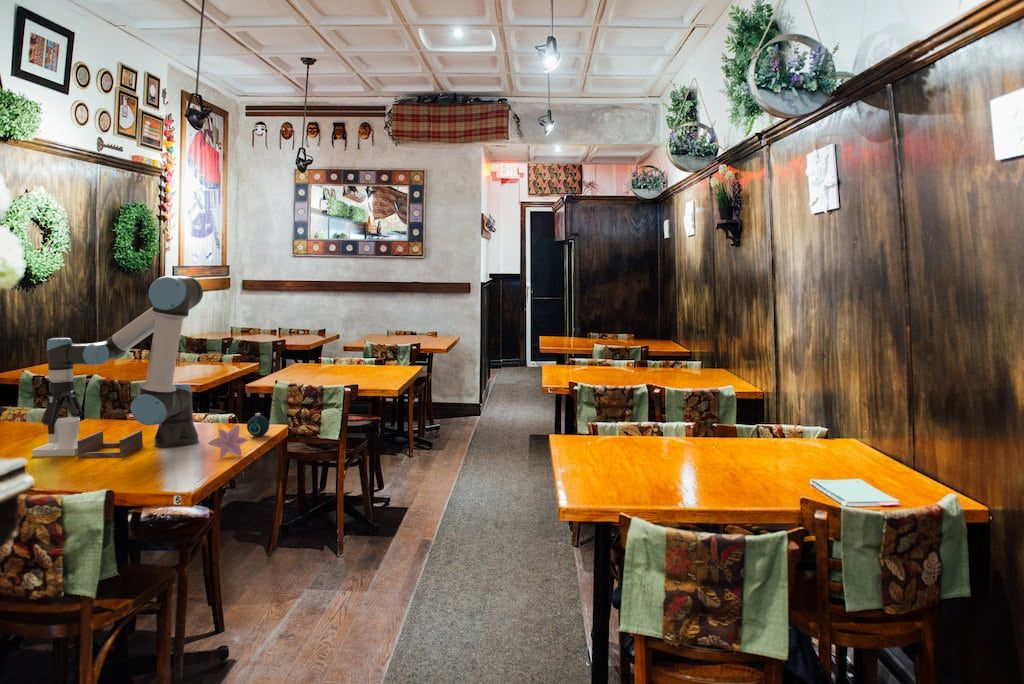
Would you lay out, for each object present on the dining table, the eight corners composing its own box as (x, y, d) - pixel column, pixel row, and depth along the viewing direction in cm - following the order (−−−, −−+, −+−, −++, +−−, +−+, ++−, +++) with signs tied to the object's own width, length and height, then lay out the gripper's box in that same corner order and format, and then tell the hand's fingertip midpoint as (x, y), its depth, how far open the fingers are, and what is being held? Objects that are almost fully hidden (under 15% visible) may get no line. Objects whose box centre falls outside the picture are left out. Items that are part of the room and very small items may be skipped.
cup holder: (142, 446, 246) (142, 430, 245) (123, 456, 231) (122, 439, 230) (100, 446, 244) (100, 431, 244) (78, 457, 229) (77, 440, 229)
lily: (203, 459, 232) (205, 439, 227) (220, 439, 242) (222, 419, 238) (236, 469, 233) (239, 449, 228) (251, 449, 243) (254, 429, 238)
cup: (65, 454, 232) (63, 423, 231) (42, 452, 234) (40, 422, 233) (88, 447, 242) (87, 418, 241) (66, 445, 244) (64, 416, 243)
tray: (96, 445, 246) (96, 439, 245) (75, 455, 232) (74, 449, 231) (56, 446, 244) (56, 440, 244) (32, 456, 230) (32, 449, 230)
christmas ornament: (242, 437, 260) (241, 412, 259) (257, 433, 268) (256, 409, 267) (259, 439, 257) (258, 414, 257) (274, 434, 265) (273, 410, 264)
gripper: (70, 375, 248) (73, 430, 249) (28, 386, 223) (32, 446, 225) (91, 375, 248) (94, 430, 250) (51, 385, 224) (55, 446, 225)
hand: (64, 438), depth 237 cm, fingers open, 13 cm apart
